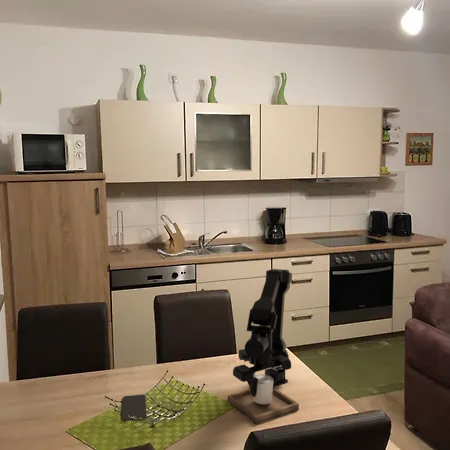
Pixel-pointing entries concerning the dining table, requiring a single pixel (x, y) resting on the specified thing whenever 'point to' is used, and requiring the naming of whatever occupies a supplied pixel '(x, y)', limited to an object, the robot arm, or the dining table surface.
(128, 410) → the phone
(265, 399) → the shot glass
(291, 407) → the walnut tray
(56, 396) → the dining table surface
